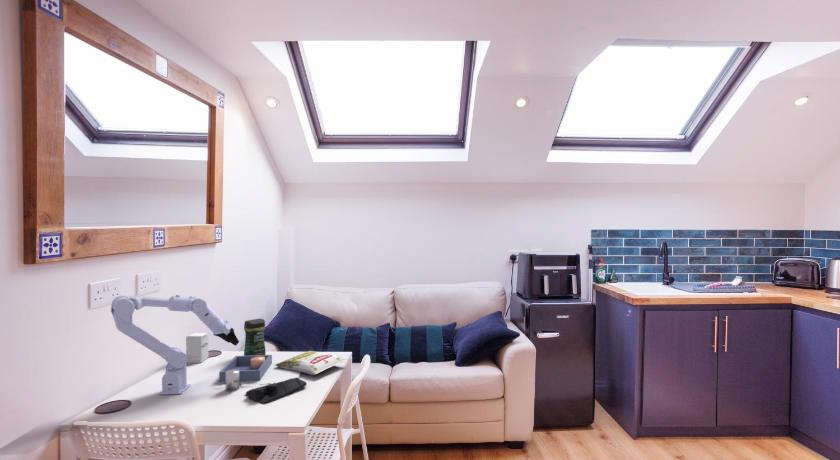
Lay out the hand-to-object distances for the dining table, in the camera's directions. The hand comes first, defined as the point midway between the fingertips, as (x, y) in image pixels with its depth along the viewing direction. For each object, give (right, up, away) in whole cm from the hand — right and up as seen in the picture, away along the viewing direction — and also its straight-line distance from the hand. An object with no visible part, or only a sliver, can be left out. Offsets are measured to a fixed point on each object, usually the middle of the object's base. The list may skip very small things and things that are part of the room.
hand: (233, 342), depth 194 cm
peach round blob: (+7, -13, +10) cm, 18 cm away
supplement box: (-27, -15, +23) cm, 38 cm away
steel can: (+5, -15, -14) cm, 21 cm away
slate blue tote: (+5, -15, +3) cm, 16 cm away
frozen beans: (+30, -15, +11) cm, 35 cm away
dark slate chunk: (+24, -16, -17) cm, 33 cm away
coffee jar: (-1, -14, +28) cm, 31 cm away
